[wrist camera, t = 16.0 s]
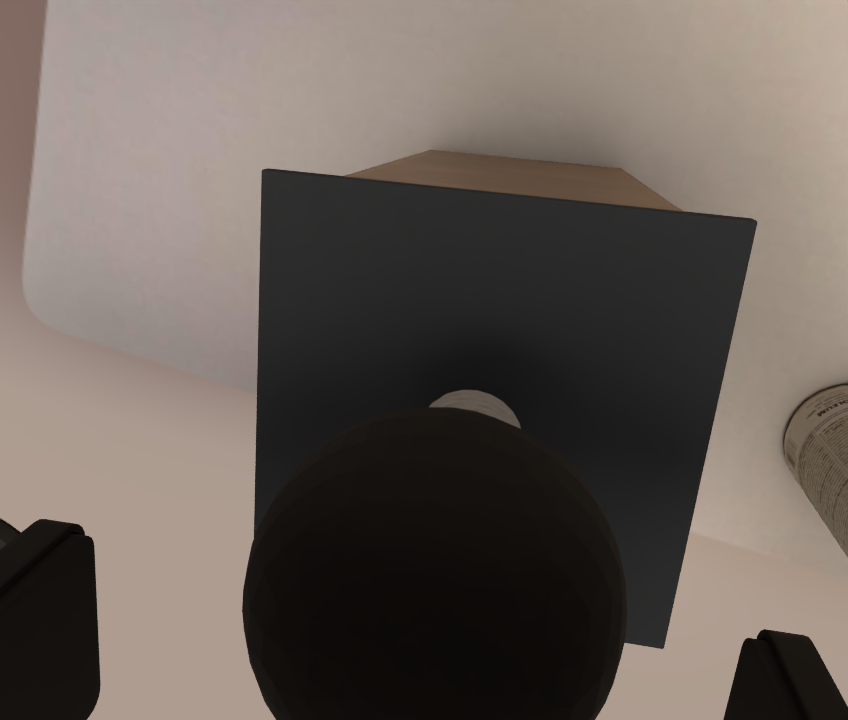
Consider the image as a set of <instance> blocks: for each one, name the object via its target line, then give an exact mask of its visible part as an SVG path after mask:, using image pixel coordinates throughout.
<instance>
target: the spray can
mask: <svg viewBox="0 0 848 720" xmlns="http://www.w3.org/2000/svg"><path fill="white" fill-rule="evenodd" d="M784 450H785V457H786V461H787V464H788V466H789V469H790V471H791V472H792V474H793V476H794V477H795V479H796V480H797V482H798V483H799V485H800V486H801V488H802V489H803V491H804V492H805V494H806V496H807V497H808V499H809V500H810V502H811V503H812V505H813V506H814V508H815V509H816V510H817V512H818V513H819V515H820V517H821V518H822V520H823V521H824V523H825V524H826V525H827V527H828V529H829V530H830V532H831V533H832V535H833V536H834V538H835V539H836V540H837V542H838V543H839V545H840V547H841V548H842V550H843V551H844V552H845V554H846V555H847V557H848V385H840V386H837V387H833V388H830V389H827V390H824V391H821V392H819V393H818V394H816V395H814V396H813V397H811V398H810V399H808V400H807V401H805V402H804V403H803V404H802V405H801V407H800V408H799V409H798V410H797V411H796V412H795V414H794V415H793V417H792V420H791V422H790V424H789V427H788V429H787V431H786V434H785V441H784Z"/></svg>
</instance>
